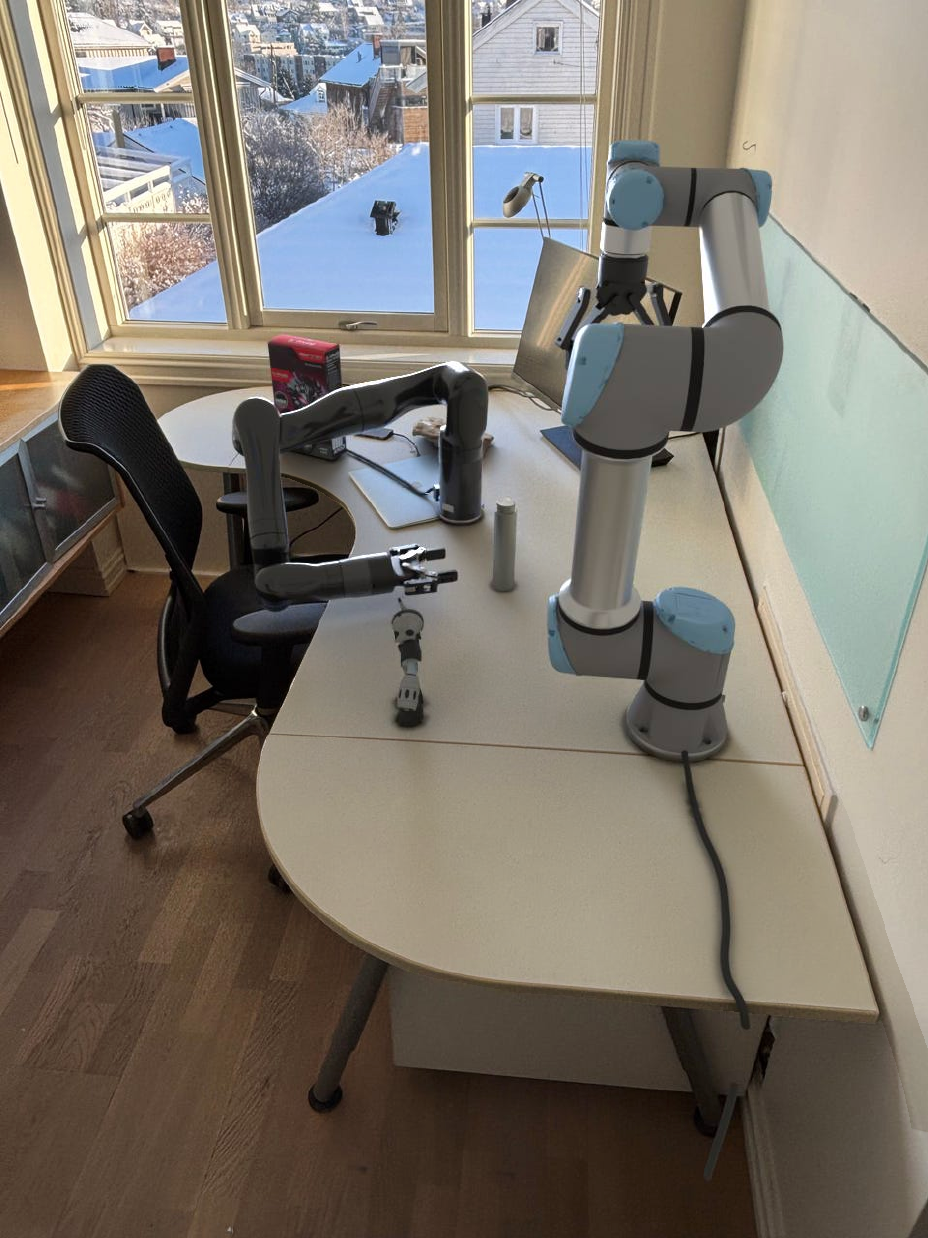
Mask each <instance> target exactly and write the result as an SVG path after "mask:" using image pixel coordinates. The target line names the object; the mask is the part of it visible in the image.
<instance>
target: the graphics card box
mask: <svg viewBox="0 0 928 1238" xmlns="http://www.w3.org/2000/svg"><path fill="white" fill-rule="evenodd" d="M340 347H341V346H340V343H335V342H333V343H332V342H328V341H322V340H317V339H311V338H306V337H300V336H295V335H289V334H285V333H282V334H279V335H277V336H274V337H273V338H271V339H270V340H268V341H267V351H268V359H269V367H270V369H269V370H270V377H271V378H270V379H271V385H272V386H271V387H272V395H273V404H274V405H275V406H276V407H277V408H278V410H279V412H280V414H284V413H289V412H293V411H297V410H300V409H302V408H304V407H306V406H308V405H310V404H312V403H314V402H315V401H317V400H319V399H321V398H322V397H324V396H326V395H328V394H330V393H332V392H334V391H336V390H338V389H341V388H343V380H342V364H341V363H342V362H341V349H340ZM347 447H348V446H347V436H345V437H341V438H337V439H332V440H328V441H323V442H318V443H313V444H309V445H306V446H303V447H299V448H296V449H294V450H291V451H292V452H297V453H301V454H305V455H309V456H314V457H317V458H322V459H326V460H330V461H333V460H335V459H337V458H339V457H340V456H342V455H344V454H345V453H348V452H347V449H348V448H347ZM291 451H290V452H291Z"/></svg>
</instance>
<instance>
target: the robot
mask: <svg viewBox="0 0 928 1238" xmlns="http://www.w3.org/2000/svg"><path fill="white" fill-rule="evenodd" d="M397 603H398V604H399V607H400V610H399V611H397V612H396V613H395V614H394V615H392V618H391V621H390V624H391V630H392V632H393V635H394V643H395V644H398V645H397V646H396V647H397V649H398V651H399V654H400V668H401V669H402V671H403V674H404V675H403V676H402V678H401V680H400V683H399V686H398V689H397V691H398V692H397V696H396V699H395V703H396V705H397V709H398V712H397V714H396V717H395V722H396V723H397V724H398V725H399V726H400V727H405V728H411V727H414V726H417V725H420V724H422V722H423V720H424V718H425V715H424V707H423V704H424V703H425V702H424V694H423V692H422V689H421V684H420V683H421V682H420V679H419V676H418V675H417V674H418V673H419V662H420V663H421V662H422V660H423V653H422V652H423V651H422V647H421V643H420V641H421V640H422V634H421V632H422V631H423V629H424V628H425V627H424V626H425V619H424V617H423V615H422V614H421V612H420V611H418V610H416V609H413V608H406V605H405V604H404V602H403V600H402V599H401V597H398V598H397Z"/></svg>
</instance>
